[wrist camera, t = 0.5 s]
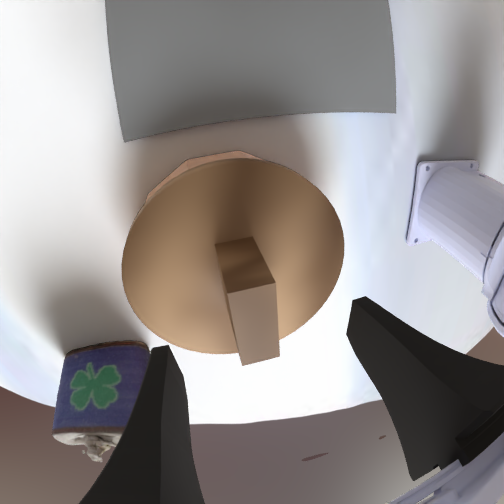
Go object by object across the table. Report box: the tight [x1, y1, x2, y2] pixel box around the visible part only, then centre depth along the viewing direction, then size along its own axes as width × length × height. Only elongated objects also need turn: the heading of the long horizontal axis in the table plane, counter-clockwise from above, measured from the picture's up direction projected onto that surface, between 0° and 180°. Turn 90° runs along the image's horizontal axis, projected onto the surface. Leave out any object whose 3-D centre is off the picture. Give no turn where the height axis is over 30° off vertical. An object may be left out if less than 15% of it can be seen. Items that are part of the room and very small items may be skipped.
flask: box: [52, 341, 151, 462], centre depth 19 cm, size 9×3×11 cm, turn 96°
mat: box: [105, 0, 396, 142], centre depth 13 cm, size 18×12×1 cm, turn 95°
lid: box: [122, 158, 344, 366], centre depth 15 cm, size 13×13×5 cm
